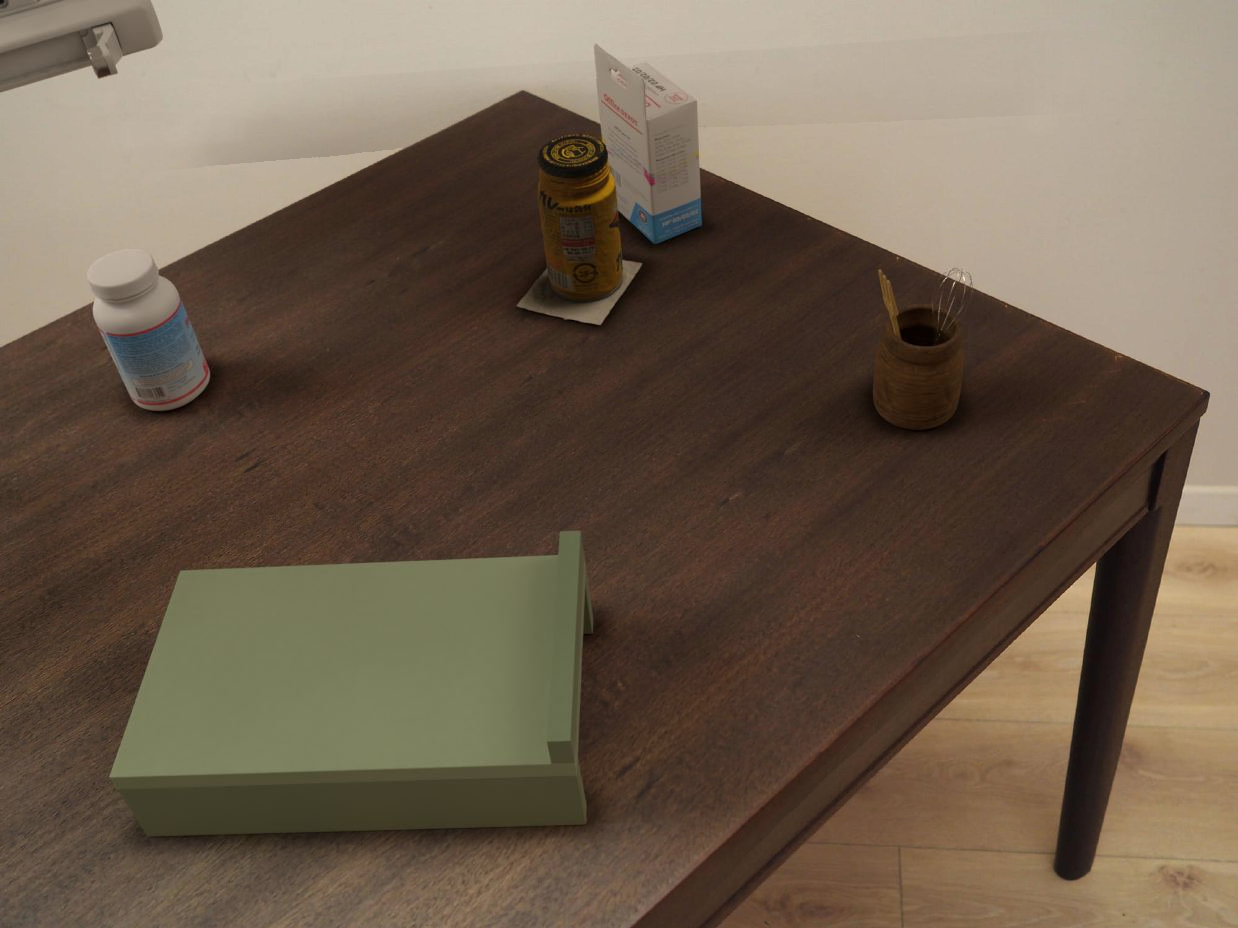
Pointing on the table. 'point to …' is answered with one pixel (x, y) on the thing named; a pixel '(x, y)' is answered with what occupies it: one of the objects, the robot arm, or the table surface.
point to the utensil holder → (918, 362)
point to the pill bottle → (147, 331)
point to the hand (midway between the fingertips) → (39, 86)
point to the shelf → (363, 698)
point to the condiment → (578, 233)
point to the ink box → (650, 147)
